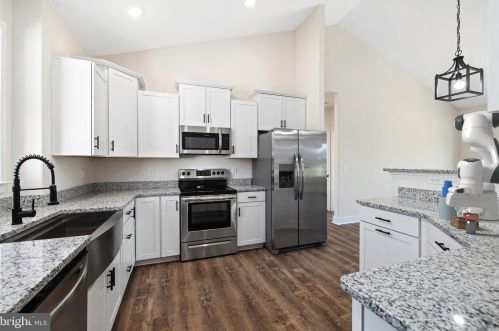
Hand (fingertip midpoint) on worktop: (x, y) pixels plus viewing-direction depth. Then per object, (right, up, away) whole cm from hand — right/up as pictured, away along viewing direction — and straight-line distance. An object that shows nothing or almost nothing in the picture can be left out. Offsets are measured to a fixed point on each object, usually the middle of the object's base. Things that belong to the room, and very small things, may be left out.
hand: (470, 215), depth 118 cm
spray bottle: (+14, -9, +29) cm, 33 cm away
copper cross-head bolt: (0, -10, 0) cm, 10 cm away
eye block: (+6, -9, +11) cm, 15 cm away
